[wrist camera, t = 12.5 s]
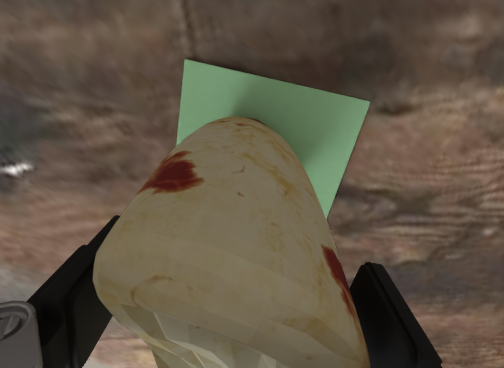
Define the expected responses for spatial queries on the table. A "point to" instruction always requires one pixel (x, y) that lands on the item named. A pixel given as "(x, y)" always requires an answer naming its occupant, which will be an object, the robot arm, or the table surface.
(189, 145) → the food model
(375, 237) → the table surface
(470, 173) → the table surface
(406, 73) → the table surface
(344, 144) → the napkin
